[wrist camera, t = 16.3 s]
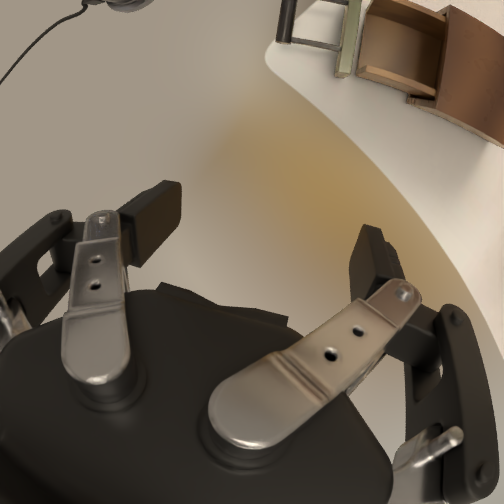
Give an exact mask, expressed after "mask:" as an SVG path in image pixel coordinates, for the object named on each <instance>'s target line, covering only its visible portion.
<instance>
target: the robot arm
mask: <svg viewBox="0 0 504 504" xmlns="http://www.w3.org/2000/svg"><path fill="white" fill-rule="evenodd" d="M105 1H108V2H113V3H115V4H119V5H127V4H131V3H133V2H135V1H137V0H82V6H83V9H82V10H81V11H79V12H77V13H75V14H72V15H69V16H67V17H65V18H62V19H61V20H59V21H57V22H56V23H55V24H53V25H52V26H51V27H49V28H48V29H47V30H46V31H45V32H43V33H42V34H41V35H40V36H39V37H38V38H37V39H36V40H35V41H34V42H33V43H32V44H31V45H30V46H29V47H28V48H27V49H26V50H25V51H24V53H23V54H22V55H21V56H20V57H19V58H18V60H17V61H16V62H15V63H14V64H13V65H12V67H11V68H10V69H9V70H8V72H7V73H6V74H5V76H4V77H3V78H2V79H1V81H0V84H1V83H2V82H3V81H4V79H5V78H6V77H7V76H8V75H9V73H10V72H11V71H12V69H13V68H14V67H15V66H16V64H17V63H18V62H19V61H20V60H21V59H22V58H23V57H24V55H25V54H26V53H27V52H28V51H29V50H30V49H31V48H32V47H33V46H34V45H35V44H36V43H37V42H38V41H39V40H40V39H41V38H42V37H43V36H44V35H45V34H47V33H48V32H49V31H50V30H52V29H53V28H54V27H56V26H57V25H58V24H60V23H62V22H64V21H66V20H69V19H71V18H74V17H77V16H79V15H81V14H82V13H83V12H85V10H86V9H87V8H88V5H87V4H91V5H97V4H101V3H104V2H105ZM181 197H182V187H181V184H180V183H179V182H174V181H167V180H163V181H162V182H160V183H159V184H158V185H156V186H154V187H153V188H151V189H148V190H146V191H143V192H141V193H140V194H138V195H137V196H136V197H134V198H133V199H131V200H130V201H129V202H127V203H126V204H124V205H123V206H122V207H120V208H119V209H118V210H116V211H113V210H102V211H98V212H95V213H93V214H91V215H90V216H88V218H87V219H86V221H85V222H73V219H72V214H71V212H70V211H68V210H57V211H53V212H51V213H49V214H47V215H46V216H44V217H43V218H42V219H40V220H39V221H38V222H36V223H35V224H34V225H33V226H31V227H30V228H29V229H27V230H26V231H25V232H24V233H23V234H21V235H20V236H19V237H18V238H16V239H15V240H14V241H13V242H12V243H11V244H9V245H8V246H7V247H6V248H5V249H3V250H2V251H1V252H0V504H470V503H473V502H475V501H478V500H480V499H483V498H485V497H487V496H489V495H490V494H491V493H492V492H493V490H494V489H495V487H496V485H497V483H498V479H499V452H498V440H497V431H496V424H495V417H494V410H493V405H492V399H491V395H490V389H489V385H488V380H487V376H486V372H485V368H484V364H483V360H482V357H481V353H480V349H479V346H478V343H477V339H476V336H475V333H474V330H473V327H472V324H471V321H470V319H469V317H468V316H467V314H466V313H465V312H464V311H463V310H462V309H460V308H459V307H457V306H455V305H453V304H445V305H443V306H442V308H441V310H440V311H439V312H436V311H434V310H432V309H430V308H428V307H426V306H424V305H423V304H421V302H422V297H421V294H420V292H419V291H418V290H417V288H415V287H414V286H413V285H412V284H411V283H409V282H407V281H406V280H405V276H404V273H403V270H402V267H401V265H400V261H399V259H398V255H397V253H396V250H395V249H394V248H393V246H392V245H391V244H390V243H389V242H385V240H384V237H383V234H382V231H381V229H380V228H377V227H373V226H369V225H366V224H364V225H363V226H362V228H361V230H360V233H359V236H358V239H357V242H356V244H355V247H354V250H353V252H352V255H351V259H350V263H349V276H350V292H351V303H350V304H349V305H348V306H346V307H345V308H344V309H342V310H341V311H340V312H338V313H337V314H336V315H334V316H333V317H332V318H330V319H329V320H327V321H326V322H325V323H323V324H322V325H321V326H319V327H318V328H316V329H315V330H314V331H312V332H311V333H309V334H308V335H306V336H305V337H303V336H302V335H301V334H299V333H298V332H296V331H295V330H293V329H291V328H289V327H287V322H288V316H284V315H280V314H276V313H272V312H268V311H264V310H260V309H256V308H243V307H230V306H220V305H217V304H215V303H213V302H211V301H209V300H207V299H205V298H204V297H202V296H200V295H198V294H196V293H194V292H192V291H190V290H187V289H183V288H180V287H177V286H173V285H170V284H167V283H164V282H161V283H160V284H159V286H158V287H157V288H156V290H136V291H131V292H130V287H129V280H128V271H127V266H128V265H132V266H135V267H139V268H141V267H142V265H143V264H144V263H145V262H146V261H147V260H148V259H149V258H150V256H151V255H152V254H153V253H154V252H155V251H156V250H157V249H158V248H159V246H160V245H161V244H162V243H163V242H164V241H165V240H166V239H167V238H168V237H169V236H170V234H171V233H172V232H173V231H174V230H175V229H176V228H177V227H178V225H179V223H180V219H181ZM48 250H49V251H50V254H51V257H52V261H53V264H52V265H51V266H50V267H49V268H48V270H46V271H45V272H44V273H43V274H42V275H41V276H40V277H39V274H38V271H37V263H38V260H39V259H40V258H41V257H42V256H43V255H44V254H45V253H46V252H47V251H48ZM69 289H70V291H69V302H68V311H67V312H65V313H64V315H63V317H61V318H58V319H55V320H53V321H50V322H47V323H45V324H42V325H40V324H41V323H42V322H43V321H44V319H45V318H46V317H47V316H48V314H49V313H50V312H51V310H52V309H53V308H54V307H55V306H56V304H57V303H58V302H59V301H60V300H61V298H62V297H63V296H64V295H65V294H66V293H67V291H68V290H69ZM386 354H388V355H390V356H392V357H394V358H396V359H399V360H400V361H402V362H404V372H405V373H404V374H405V396H406V436H405V443H404V444H402V445H401V446H400V447H399V448H398V449H397V451H396V453H395V457H394V460H393V464H391V462H390V459H389V457H388V456H387V454H386V452H385V450H384V449H383V448H382V446H381V445H380V443H379V442H378V440H377V439H376V437H375V436H374V434H373V433H372V431H371V430H370V428H369V427H368V425H367V424H366V423H365V421H364V419H363V418H362V416H361V415H360V414H359V412H358V411H357V409H356V407H355V406H354V404H353V403H352V401H351V400H350V398H349V397H348V396H349V395H350V394H351V393H352V392H353V391H354V390H355V388H356V387H358V385H359V384H360V383H361V382H362V381H363V380H364V379H365V378H366V377H367V375H368V374H369V373H370V372H371V371H372V370H373V369H374V368H375V367H376V366H377V365H378V364H379V362H380V361H381V360H382V359H383V358H384V356H385V355H386ZM441 365H442V366H443V374H442V378H441V376H440V369H439V367H440V366H441Z"/></svg>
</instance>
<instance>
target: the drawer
mask: <svg viewBox="0 0 504 504" xmlns="http://www.w3.org/2000/svg"><path fill="white" fill-rule="evenodd" d="M322 1H327V2H332V3H337V4H341V5H345V12H344V19H343V26H342V33H341V39H340V45H339V46H336V45H331V44H327V43H322V42H317V41H312V40H306V39H300V38H293V37H292V32H293V26H294V20H295V12H296V7H297V0H282V3H281V9H280V15H279V22H278V28H277V35H276V42H277V43H280V44H291V43H296V44H302V45H308V46H313V47H318V48H323V49H328V50H332V51H337V52H338V57H337V63H336V69H335V75H334V76H335V77H339V78H343V79H344V78H345V77H347V76H348V75H350V74H351V68H352V62H353V57H354V51H355V44H356V38H357V31H358V25H359V17H360V10H361V2H362V0H322ZM445 28H446V17H445V16H443V15H441V14H438V13H436V12H434V11H432V10H430V9H427V8H425V7H423V6H420V5H418V4H415V3H413V2H410V1H408V0H371V2H370V4H369V5H368V7H367V9H366V14H365V21H364V28H363V35H362V41H361V48H360V54H359V60H358V66H357V71H356V76H358V77H362V78H365V79H369V80H372V81H375V82H378V83H381V84H385V85H388V86H390V87H393V88H396V89H399V90H402V91H405V92H407V93H410V94H412V95H415V96H417V97H420V98H422V99H425V100H432V101H434V100H435V96H436V91H437V85H438V80H439V74H440V68H441V62H442V55H443V47H444V39H445Z"/></svg>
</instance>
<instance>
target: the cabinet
mask: <svg viewBox="0 0 504 504" xmlns="http://www.w3.org/2000/svg"><path fill="white" fill-rule="evenodd" d="M436 13H438V14H441V15H443V16H445V17H446V28H445V39H444V47H443V55H442V62H441V68H440V74H439V80H438V85H437V91H436V96H435V100H434V101H432V100H425V99H422V98H420V97H417V96H415V95H412V94H410V93H408V98H407V104H410V105H413V106H415V107H418V108H420V109H423V110H425V111H427V112H430V113H432V114H435V115H437V116H439V117H441V118H444V119H446V120H448V121H450V122H452V123H454V124H456V125H458V126H460V127H462V128H464V129H466V130H468V131H470V132H472V133H474V134H476V135H478V136H480V137H481V138H483V139H485V140H487V141H489V142H491V143H493V144H495V145H497V146H499V147H501V148H503V149H504V36H502V35H501V34H499V33H498V32H496V31H495V30H493V29H492V28H490V27H489V26H487V25H485V24H484V23H482V22H481V21H479V20H477V19H476V18H474V17H472V16H470V15H469V14H467V13H465V12H463V11H462V10H460V9H458V8H456V7H454V6H452V5H448V6H447V7H445V8H443V9H441V10H440V11H438V12H436Z"/></svg>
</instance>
